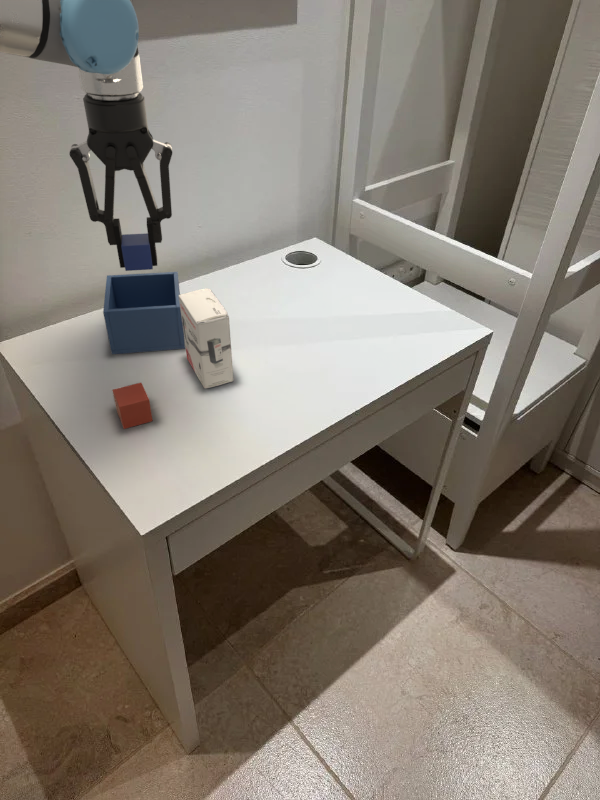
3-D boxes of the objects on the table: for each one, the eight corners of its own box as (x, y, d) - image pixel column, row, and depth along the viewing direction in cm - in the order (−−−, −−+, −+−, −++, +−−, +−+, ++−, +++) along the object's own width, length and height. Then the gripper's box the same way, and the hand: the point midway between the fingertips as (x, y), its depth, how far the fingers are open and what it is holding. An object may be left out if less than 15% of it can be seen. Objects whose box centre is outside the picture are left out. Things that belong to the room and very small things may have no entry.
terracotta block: (123, 429, 78) (119, 407, 75) (116, 411, 81) (112, 389, 78) (152, 421, 80) (149, 399, 77) (145, 403, 82) (141, 382, 80)
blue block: (125, 271, 86) (121, 246, 84) (126, 258, 89) (121, 234, 87) (152, 269, 87) (149, 244, 84) (152, 257, 90) (149, 233, 87)
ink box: (184, 359, 91) (177, 292, 83) (214, 351, 93) (210, 285, 85) (203, 391, 85) (197, 322, 77) (234, 382, 87) (232, 314, 79)
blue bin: (111, 354, 91) (103, 312, 86) (114, 316, 99) (106, 275, 94) (185, 348, 93) (180, 306, 88) (181, 311, 101) (177, 271, 96)
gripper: (37, 101, 69) (78, 277, 84) (183, 100, 72) (197, 271, 87) (45, 86, 74) (82, 254, 89) (180, 86, 77) (193, 248, 92)
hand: (138, 262), depth 88 cm, fingers closed on blue block, 4 cm apart
